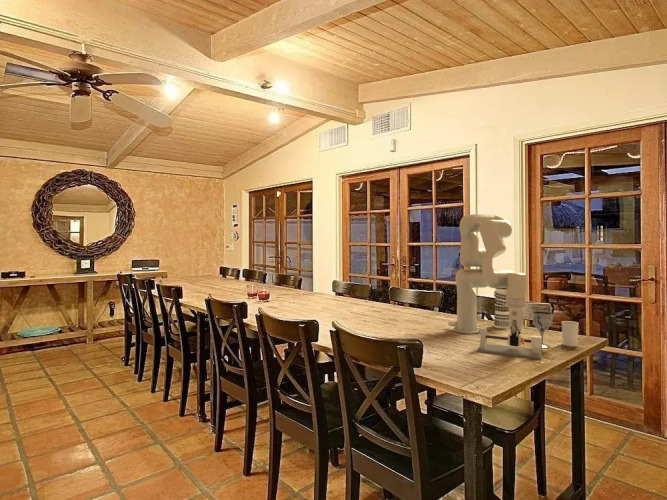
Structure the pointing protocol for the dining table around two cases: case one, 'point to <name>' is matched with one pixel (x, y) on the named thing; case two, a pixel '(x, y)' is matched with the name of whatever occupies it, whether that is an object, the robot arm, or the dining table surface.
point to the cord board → (509, 350)
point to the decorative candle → (501, 309)
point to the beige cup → (569, 333)
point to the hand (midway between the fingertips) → (515, 343)
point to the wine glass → (542, 323)
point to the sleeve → (518, 339)
